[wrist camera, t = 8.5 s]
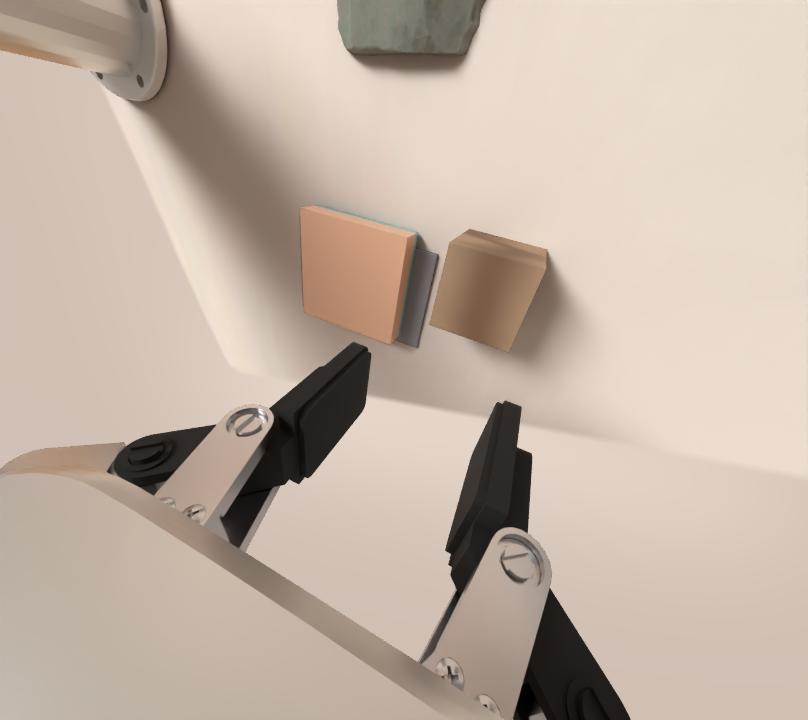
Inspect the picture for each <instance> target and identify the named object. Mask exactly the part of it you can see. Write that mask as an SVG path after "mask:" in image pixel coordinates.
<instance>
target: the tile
mask: <svg viewBox="0 0 808 720" xmlns="http://www.w3.org/2000/svg"><path fill="white" fill-rule="evenodd" d="M300 225H301V252H302V279H303V305H304V313H306V314H309V315H311V316H314V317H317V318H319V319H322V320H325V321H327V322H330V323H333V324H335V325H338V326H341V327H343V328H346V329H348V330H351V331H354V332H356V333H359V334H362V335H364V336H367V337H370V338H372V339H375V340H378V341H380V342H383V343H386V344H388V345H391V344H392V342H393V341H394V340H395V339H396V338H397V337H398V336H399V335H400V331H401V326H402V320H403V314H404V309H405V303H406V298H407V292H408V287H409V281H410V276H411V270H412V265H413V259H414V254H415V248H416V242H417V237H418V232H414V231H410V230H407V229H403V228H399V227H396V226H392V225H388V224H385V223H381V222H377V221H374V220H370V219H366V218H363V217H359V216H355V215H352V214H348V213H344V212H341V211H337V210H333V209H330V208H326V207H322V206H319V205H314V206H307V207H300Z"/></svg>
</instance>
